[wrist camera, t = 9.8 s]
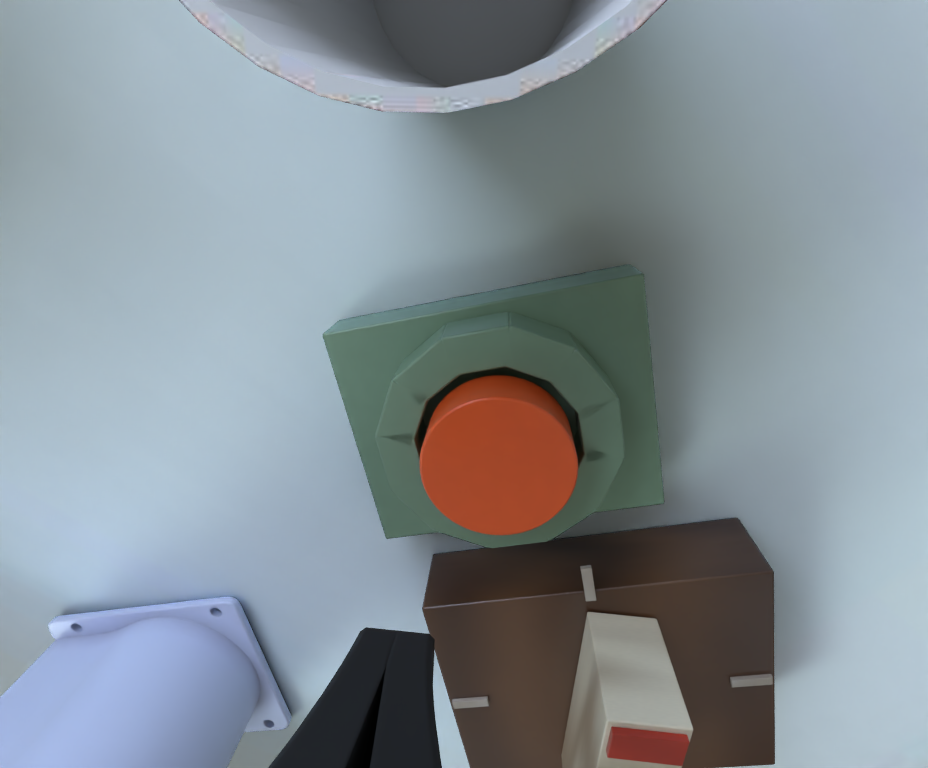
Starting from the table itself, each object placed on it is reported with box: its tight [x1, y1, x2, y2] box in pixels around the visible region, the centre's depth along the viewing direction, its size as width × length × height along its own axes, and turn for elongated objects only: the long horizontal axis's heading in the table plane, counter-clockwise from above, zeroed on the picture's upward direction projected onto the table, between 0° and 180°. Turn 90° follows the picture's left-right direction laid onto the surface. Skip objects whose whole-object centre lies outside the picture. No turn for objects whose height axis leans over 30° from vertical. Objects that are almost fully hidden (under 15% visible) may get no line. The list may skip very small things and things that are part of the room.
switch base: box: [422, 518, 775, 768], centre depth 21 cm, size 12×12×3 cm
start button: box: [419, 375, 578, 535], centre depth 16 cm, size 4×4×2 cm
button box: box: [323, 264, 664, 548], centre depth 18 cm, size 10×8×4 cm
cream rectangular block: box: [561, 612, 693, 768], centre depth 18 cm, size 8×2×4 cm, turn 177°
